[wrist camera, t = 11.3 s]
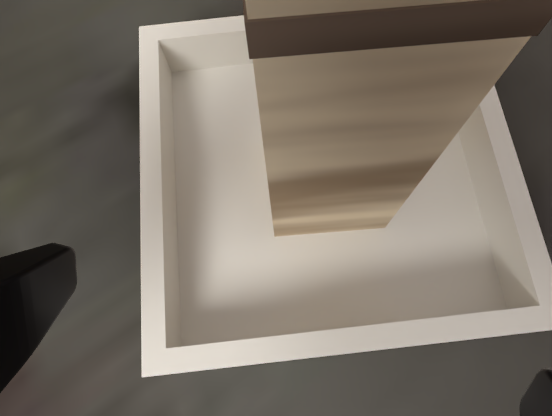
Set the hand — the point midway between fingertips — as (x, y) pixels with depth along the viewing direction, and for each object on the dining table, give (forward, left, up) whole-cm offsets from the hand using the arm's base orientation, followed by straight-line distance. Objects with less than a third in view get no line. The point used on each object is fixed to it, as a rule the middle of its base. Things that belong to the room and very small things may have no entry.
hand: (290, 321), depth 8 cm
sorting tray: (+6, -2, -9) cm, 11 cm away
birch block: (+6, -2, -8) cm, 11 cm away
